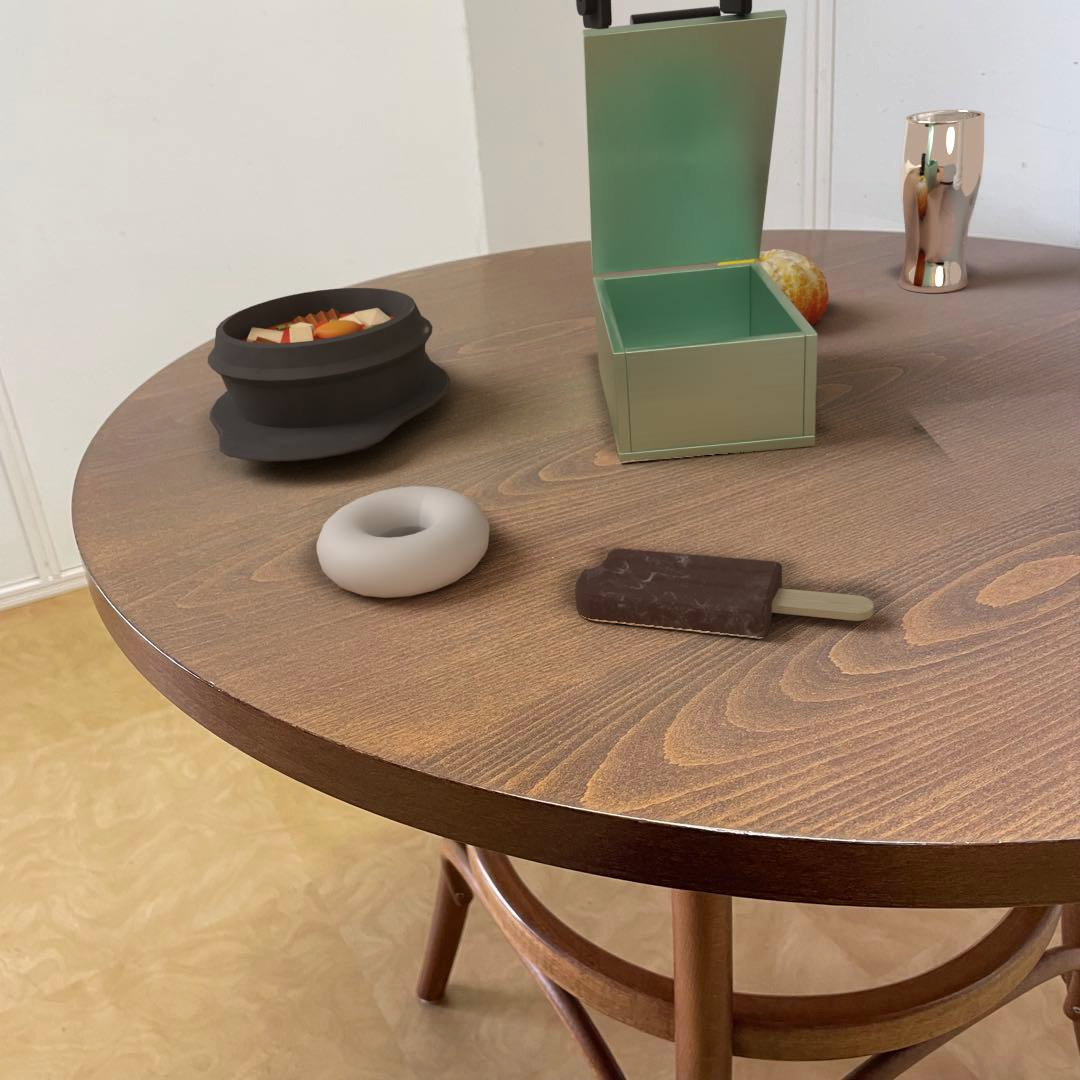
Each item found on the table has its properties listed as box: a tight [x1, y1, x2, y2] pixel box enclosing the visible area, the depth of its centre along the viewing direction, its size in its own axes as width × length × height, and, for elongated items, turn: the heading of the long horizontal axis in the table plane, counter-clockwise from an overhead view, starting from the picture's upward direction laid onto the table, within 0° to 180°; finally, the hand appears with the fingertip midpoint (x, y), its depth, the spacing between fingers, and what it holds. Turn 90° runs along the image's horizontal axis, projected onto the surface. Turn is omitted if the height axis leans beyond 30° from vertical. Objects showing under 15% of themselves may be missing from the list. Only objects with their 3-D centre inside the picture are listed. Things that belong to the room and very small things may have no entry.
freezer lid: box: [582, 5, 788, 275], centre depth 82 cm, size 20×13×5 cm
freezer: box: [592, 262, 819, 463], centre depth 82 cm, size 19×13×8 cm
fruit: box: [716, 248, 830, 327], centre depth 99 cm, size 11×10×8 cm
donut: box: [316, 485, 490, 599], centre depth 65 cm, size 10×4×10 cm
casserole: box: [207, 287, 451, 463], centre depth 86 cm, size 25×19×8 cm
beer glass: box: [898, 109, 986, 294], centre depth 102 cm, size 7×7×15 cm
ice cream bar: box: [574, 547, 874, 638], centre depth 58 cm, size 5×2×15 cm
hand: (667, 20), depth 72 cm, fingers open, 9 cm apart
